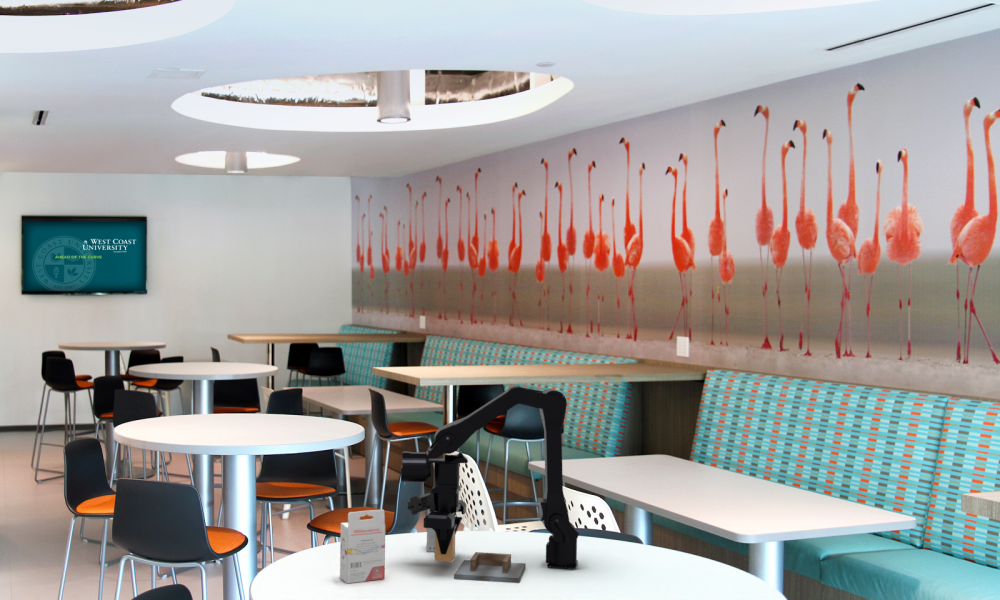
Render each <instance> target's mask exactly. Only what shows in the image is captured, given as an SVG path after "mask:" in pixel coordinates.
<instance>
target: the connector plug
mask: <svg viewBox="0 0 1000 600" xmlns="http://www.w3.org/2000/svg"><path fill="white" fill-rule="evenodd" d="M455 557H456V534H455V531H454V534H453V536H452V539H451V542H450V545H449V547H448V550H447V553H446V554H441V552H440V548H439V543H438V539H437V535H436V533H435V552H434V561H436V562H437V561H438V562H440V561H441V562H453V561H454V560H455Z"/></svg>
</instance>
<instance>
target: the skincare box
mask: <svg viewBox="0 0 1000 600" xmlns="http://www.w3.org/2000/svg"><path fill="white" fill-rule="evenodd" d="M429 513H430V512H429V509H427V515H428V514H429ZM435 533H436V532H435V531H434V530H433V529H432V528H426V552H428V553H429V552H434V553H435Z"/></svg>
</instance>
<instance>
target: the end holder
mask: <svg viewBox="0 0 1000 600" xmlns="http://www.w3.org/2000/svg"><path fill="white" fill-rule="evenodd" d="M526 567H527V565H526V562H512V554H511V553H498V552H479V551H475V552H474V553H473V554H472V556H471V558H470V559H463V561H462V562H461V563H460V564H459V566H458V568H457V569H456V570H455V572H454V573H453V579H454V580H464V581H465V580H467V581H483V582H497V583H499V582H500V583H501V582H502V583H515V584H519V583H520V582H521V579H522V577H523V576H524V572H525V570H526Z"/></svg>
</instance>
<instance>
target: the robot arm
mask: <svg viewBox="0 0 1000 600" xmlns="http://www.w3.org/2000/svg"><path fill="white" fill-rule="evenodd" d="M518 404H519V405H523V406H528V407H530V408H531V407H532V408H536V409H539V414H540V419H541V422H542V425H543V432H544V433H543V435H544V438H543V439H544V443H543V445H544V483H545V489H544V494H543V497H537V503H538V512H537V516H538V518H539V519H540V522H541V523H542V524H543V526H544V528H545V529H546V531H548V532H549V533H550V535H549V537H548V542H546V544H545V563H546V567H547V568H549V569H550V568H551V569H553V568H554V569H568V570H576V569H577V566H578V563H579V562H578V559H577V557H578V538H579V536H580V532H579V531H578V530H577V529H576V527H575V526H574V525H573V523H572V522H570V517H569V512H568V511H569V510H568V506H567V503H566V499H565V494H564V485H563V483H564V482H563V481H564V480H563V478H564V477H563V476H564V475H563V439H562V438H563V436H562V435H563V433H562V431H563V426H564V423H565V418H566V414H567V413H566V411H567V406H568V405H567V404H568V403H567V398H566V396H565V395H564V394H563V393H562V392H560V390H557V389H555V388H547V389H543V390H539V389H538V390H537V389H534V388H533V389H532V388H528V387H522V386H520V385H517V384H515V385H511V386H510V387H508V388H507V389H506V390H505V391H503V392H502V393H500V394H499V395H497V396H496V397H494V398H493V399H491V400H490V401H488V402H486V403H485V404H484V405H482V406H481V407H479V408H478V409H475V410H474V411H473V412H472V413H470V414H467V416H465V417H463V418H460V419H457V420H454V421H452V422H449V423H447V424H445V425H442V426H440V427H439V428H438V429H437V430H436V431H435V434H434V441H433V442H432V444H431V445H430V446H428V448H427V450H426V452H424V451H423V452H421V451H420V452H416V451H413V452H412V451H406V450H405V451H402V460H401V461H402V462H401V467H400V482H401V483H426V482H427V480H428V479H429V478H430V479H431V478H432V464H433V465H434V466H433V487H432V488H430V491H429V492H428V493H427V492H426V493H425V494H421V495H419V494H416V495H413V496H410V498H409V500H407V510H409V511H410V514H411V516H414V515H417V514H418V513H421V512H424V511H428V509H429V512H430V513H429V514H428V513H427V515H426V516H425V517H423V528H425V529H427V528H432V529H433V530H434V531H435V532H436V535H437V539H438V543H439V548H440V552H441V554H446V553H447V550H448V547H449V545H450V542H451V539H452V536H453V534H454V531H455V535H456V534H457V532H458V529H459V527H460V525H461V522H462V521H463V517H462V516H457V513H461V515H465V514H466V513H467V504H466V502H465V501H464V500H462V499H460V491H461V490H462V489H461V488H462V487H461V486H462V485H460V466H461V465H460V464H468V463H469V460H468V458H467V457H466V456H465V455H464V454H463V451H462V450H461V451H459V452H458V453H456V454H453V453H455V452H457V450H459V448H461V447H462V446H463V445H464V444H465V443H466V442H467V441H468V440H469V439H470V438H471V437H472V436H473V435H474V434H475V433H476V432H477V431H478V430H480V429H481V428H483V427H485V426H486V425H488V424H489V423H491V422H492V421H494V420H495V419H497V418H498V417H500V416H502V415H503V414H504V413H506V412H508V411H509V410H510V409H511V408H514V407H515V406H517V405H518ZM442 455H444V457H443V458H440V457H441V456H442Z"/></svg>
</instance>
